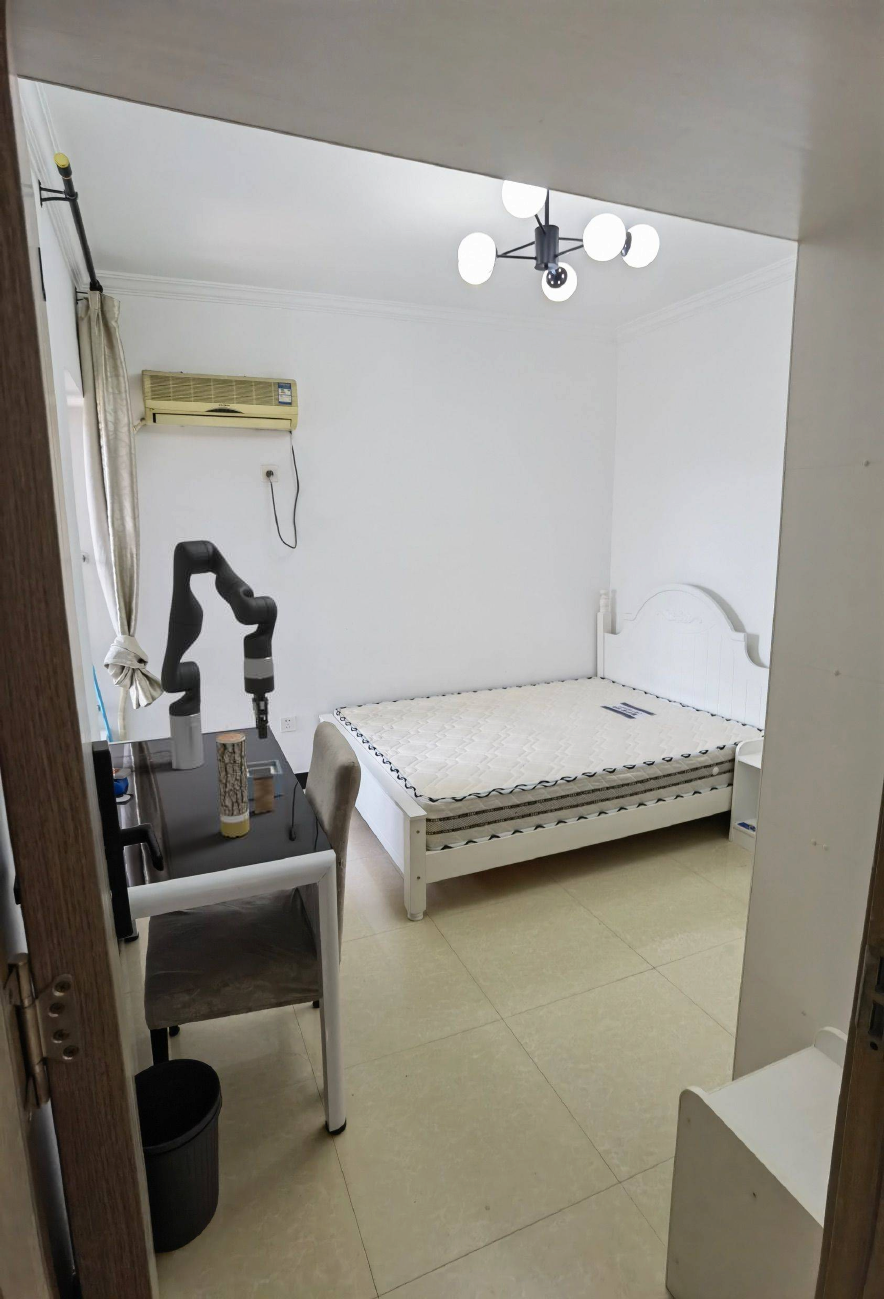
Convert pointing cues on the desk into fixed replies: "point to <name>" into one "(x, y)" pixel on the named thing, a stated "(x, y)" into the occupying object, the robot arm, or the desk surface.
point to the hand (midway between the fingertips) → (261, 733)
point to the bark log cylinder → (232, 784)
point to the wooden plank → (263, 792)
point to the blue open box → (265, 768)
